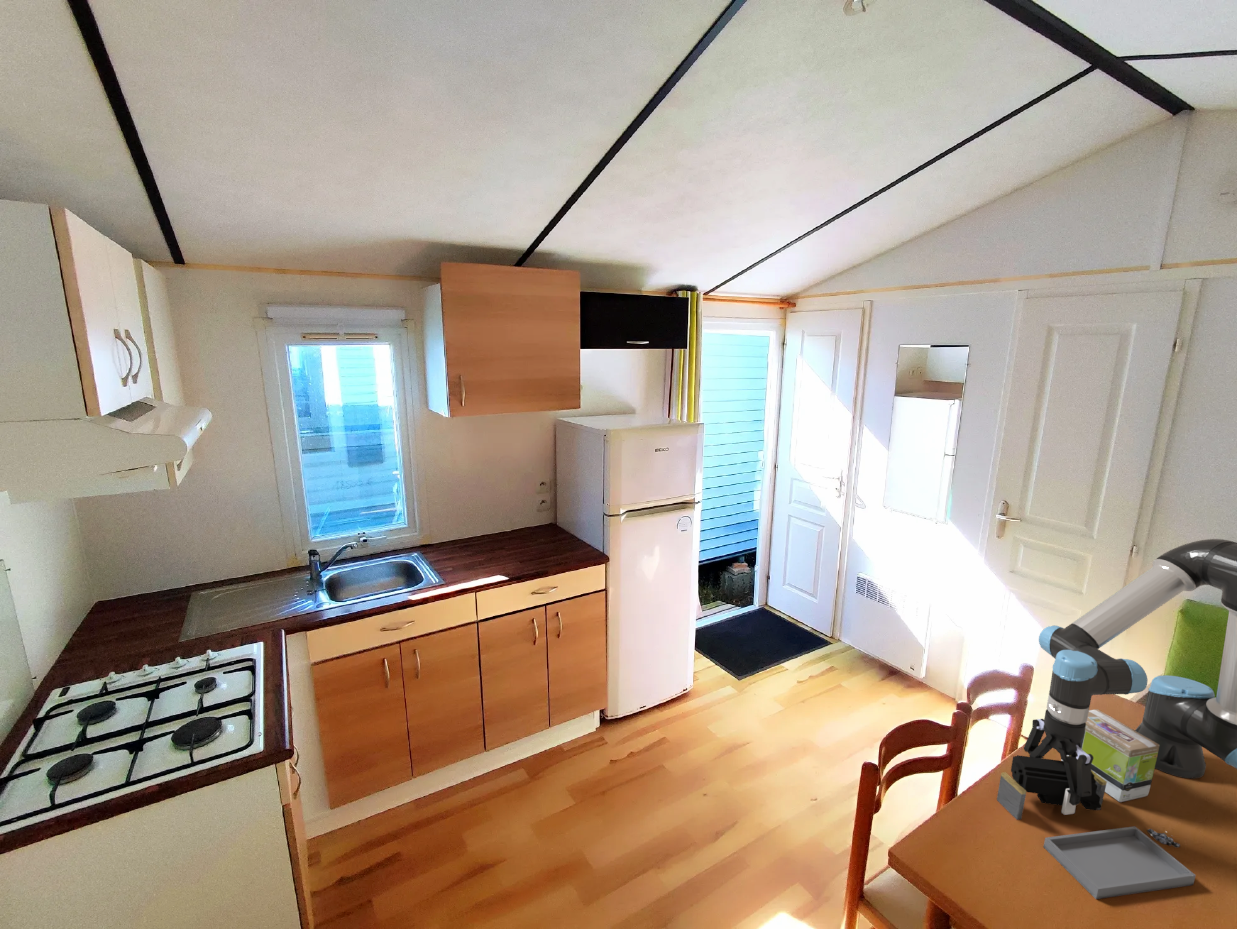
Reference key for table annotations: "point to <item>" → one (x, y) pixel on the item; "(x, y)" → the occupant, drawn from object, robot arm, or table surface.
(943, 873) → the table surface
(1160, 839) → the blueberries
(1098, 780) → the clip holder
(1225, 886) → the table surface
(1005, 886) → the table surface
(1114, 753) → the tea box
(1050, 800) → the security camera
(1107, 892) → the tray
